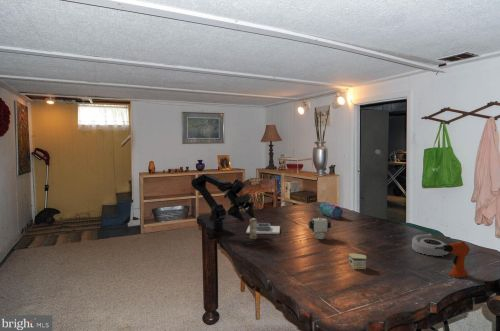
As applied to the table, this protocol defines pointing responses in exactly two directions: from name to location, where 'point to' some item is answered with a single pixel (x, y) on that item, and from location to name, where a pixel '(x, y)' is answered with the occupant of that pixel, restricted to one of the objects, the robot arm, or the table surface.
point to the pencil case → (330, 210)
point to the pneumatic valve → (319, 227)
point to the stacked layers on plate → (357, 261)
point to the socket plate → (265, 229)
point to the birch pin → (253, 228)
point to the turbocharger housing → (428, 245)
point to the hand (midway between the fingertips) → (249, 219)
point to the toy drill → (457, 257)
